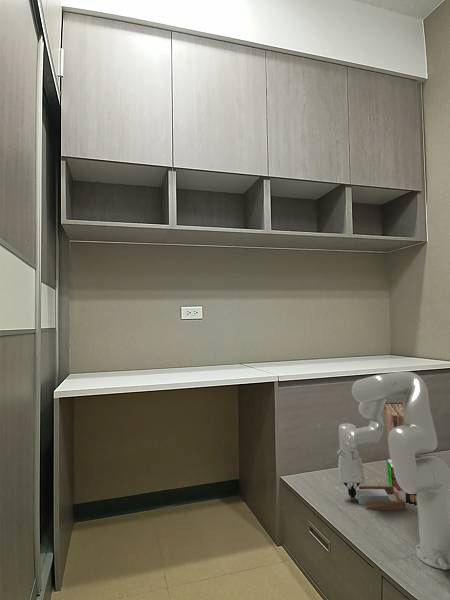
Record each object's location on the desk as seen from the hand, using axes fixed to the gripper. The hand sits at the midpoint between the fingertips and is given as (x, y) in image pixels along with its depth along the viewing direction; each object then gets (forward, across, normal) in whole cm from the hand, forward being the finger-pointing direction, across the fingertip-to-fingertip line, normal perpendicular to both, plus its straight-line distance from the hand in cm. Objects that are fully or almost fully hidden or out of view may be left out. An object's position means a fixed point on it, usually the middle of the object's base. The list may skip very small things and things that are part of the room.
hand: (352, 497), depth 161 cm
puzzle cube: (+2, +24, +15) cm, 28 cm away
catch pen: (+1, +12, 0) cm, 12 cm away
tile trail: (+1, +5, 0) cm, 5 cm away
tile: (+2, +11, 0) cm, 11 cm away
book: (+2, +30, +35) cm, 46 cm away
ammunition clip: (+2, +26, -3) cm, 26 cm away
